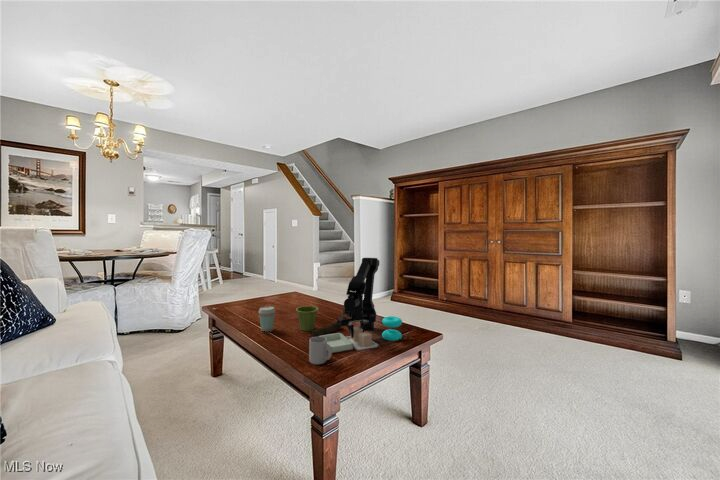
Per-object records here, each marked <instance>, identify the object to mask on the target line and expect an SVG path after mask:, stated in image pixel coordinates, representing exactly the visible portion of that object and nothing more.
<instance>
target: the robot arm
mask: <svg viewBox="0 0 720 480" xmlns="http://www.w3.org/2000/svg"><path fill="white" fill-rule="evenodd" d="M379 267H380V260H379V259H378V258H377V257H362V259H361V263H360V265H359V268H358V270H357V272H356V274H355V275H354V276H353V277H352V278H351V280H350V281H349V283H348V286H347V290H346V296H347V298H346V299H345V300H344V302H343V307H344V308H343V309H342V314H343V316H342V317H341V316H340V317H337V319H336V322H337V323H338V324H339V325H340V326H341V327H347V329H348V332H349V336H351V338H353V331H354V327H355V325H354V324H353V323H359V324H360V326H359V327H361V328H362V329H363V332H368V331H374V330H376V328H375V323H376V322H377V311H376V308H375V304H374V301H373V293H374V282H375V274H376V273H377V272H378V270H379Z"/></svg>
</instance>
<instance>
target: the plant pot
mask: <svg viewBox="0 0 720 480" xmlns="http://www.w3.org/2000/svg"><path fill="white" fill-rule="evenodd" d="M295 310H296V312H297V316H298V323H299V328H300V331H303V332H312V331H313V330H314V329H315V325H316V324H315V323H316V318H317V313H318V310H319V307H317V306H313V305H304V306H299V307H297V308H295Z"/></svg>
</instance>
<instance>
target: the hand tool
mask: <svg viewBox="0 0 720 480" xmlns="http://www.w3.org/2000/svg"><path fill="white" fill-rule="evenodd" d="M341 328H342V326H340V325H339V324H338V323H337V321H336V322H333V323H331V325H328V326H325V327H322V328H319V329H315V330H314V329H313V330H311V337H312V338H313V337H319V336H322V335H328V334H331V333H333V332H337V331H338V330H340V329H341Z"/></svg>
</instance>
